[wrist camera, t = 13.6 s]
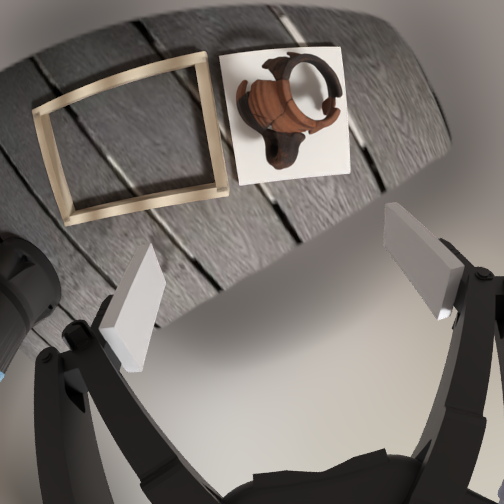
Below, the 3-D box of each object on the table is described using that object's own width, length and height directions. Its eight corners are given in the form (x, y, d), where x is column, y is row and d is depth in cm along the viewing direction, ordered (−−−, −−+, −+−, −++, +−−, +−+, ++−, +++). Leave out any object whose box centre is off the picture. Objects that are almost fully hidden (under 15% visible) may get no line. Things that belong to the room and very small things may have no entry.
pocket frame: (72, 220, 36) (65, 226, 35) (40, 108, 28) (31, 110, 26) (229, 190, 35) (228, 195, 34) (206, 53, 27) (204, 51, 25)
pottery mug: (230, 60, 27) (272, 33, 20) (301, 75, 32) (351, 61, 25) (226, 168, 30) (269, 169, 23) (299, 170, 35) (351, 174, 28)
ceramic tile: (239, 183, 35) (239, 185, 34) (219, 56, 27) (219, 55, 26) (347, 171, 34) (350, 173, 33) (337, 47, 27) (340, 46, 26)
